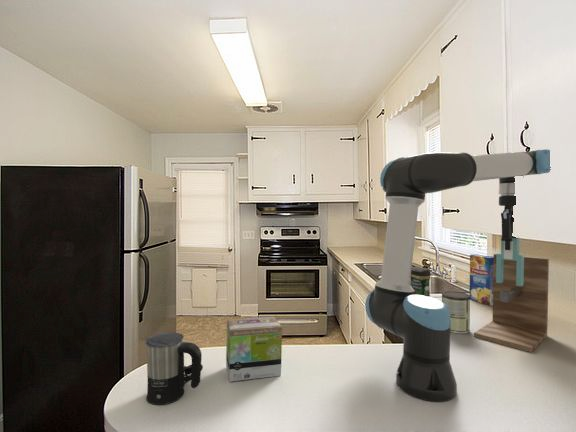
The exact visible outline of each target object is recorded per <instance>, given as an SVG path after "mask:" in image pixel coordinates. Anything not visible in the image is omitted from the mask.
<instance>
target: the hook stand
mask: <svg viewBox="0 0 576 432" xmlns="http://www.w3.org/2000/svg"><path fill="white" fill-rule="evenodd" d="M496 254H497V253H494V254H493V256H494V262H493V305H492V321H490V322H489V323H487V324H486V325H484V326H482V327H481V328H479V329H478V330H476V331H474V332H473V337H475V338H477V337H478V338H477V339H482V340H484V339H485V341H490V342H493V343H496V344H500V345H504V346H508V347H511V348H515V349H519V350H522V351H526V352H530V353H533V352H534V350H535V349H537V348H538V346H539V345H540V344H541V343H542V342H543V341H544V340H545V339H546V338H547V337H548V325H549V324H548V323H549V322H548V321H549V320H548V319H549V317H548V314H549V278H550V277H549V273H550V270H549V267H550V265H549V264H550V258H543V257H542V258H541V257H532V256H524V285H523V286H516V268H517V261H513V260H504V262H503V282H502V283H496ZM514 287H517V288H522V295H520V296H518V297H517V298H515V299H513V300H511V301H509V302H508V303H507V302H501V301H500V291H508V290H510V289H512V288H514Z"/></svg>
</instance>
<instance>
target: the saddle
mask: <svg viewBox="0 0 576 432" xmlns="http://www.w3.org/2000/svg"><path fill="white" fill-rule="evenodd" d="M501 239H502V237H501V238H500V252H498V253H495V254H496V283H502V282H503V262H504V260H513V261H517V268H516V286H523V285H524V257H525V255H524V254H520V237H518V238H512V241H513V259H504V241H501Z"/></svg>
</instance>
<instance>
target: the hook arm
mask: <svg viewBox="0 0 576 432" xmlns="http://www.w3.org/2000/svg"><path fill="white" fill-rule="evenodd" d="M520 295H522V288H517V287H514V288H512V289H510V290H508V291H500V301H501V302H507V303H508V302H509V301H511V300H513V299H515V298H517V297H518V296H520Z"/></svg>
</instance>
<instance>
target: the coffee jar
mask: <svg viewBox="0 0 576 432" xmlns="http://www.w3.org/2000/svg"><path fill="white" fill-rule="evenodd" d="M430 279H431V270H430V269H429V268H424V267H419V266H414V267H413V266H412V268H411V277H410V285H411V287H412V288H413V289H414V295H424V296H426V297H431V295H430V294H431V293H430Z"/></svg>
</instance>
